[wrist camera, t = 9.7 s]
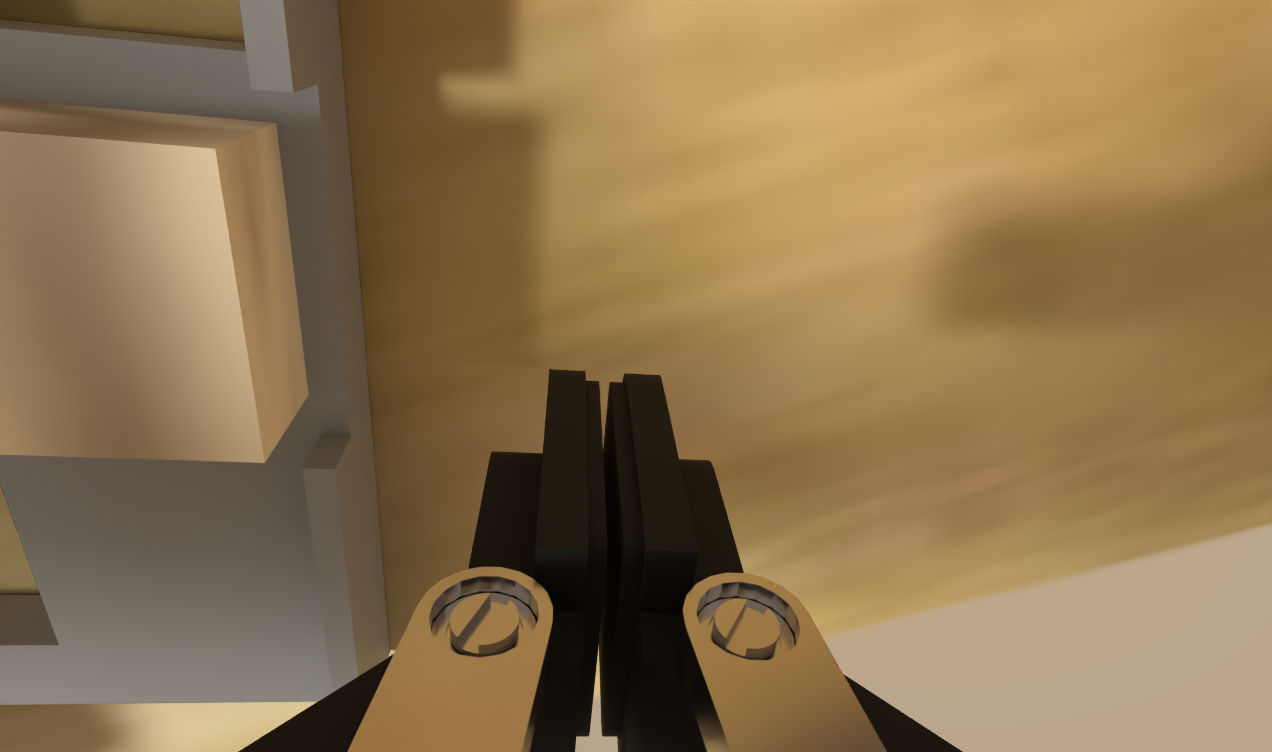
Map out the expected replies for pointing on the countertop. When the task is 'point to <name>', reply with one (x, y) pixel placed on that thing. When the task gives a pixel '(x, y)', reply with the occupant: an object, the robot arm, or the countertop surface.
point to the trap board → (212, 490)
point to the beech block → (144, 286)
